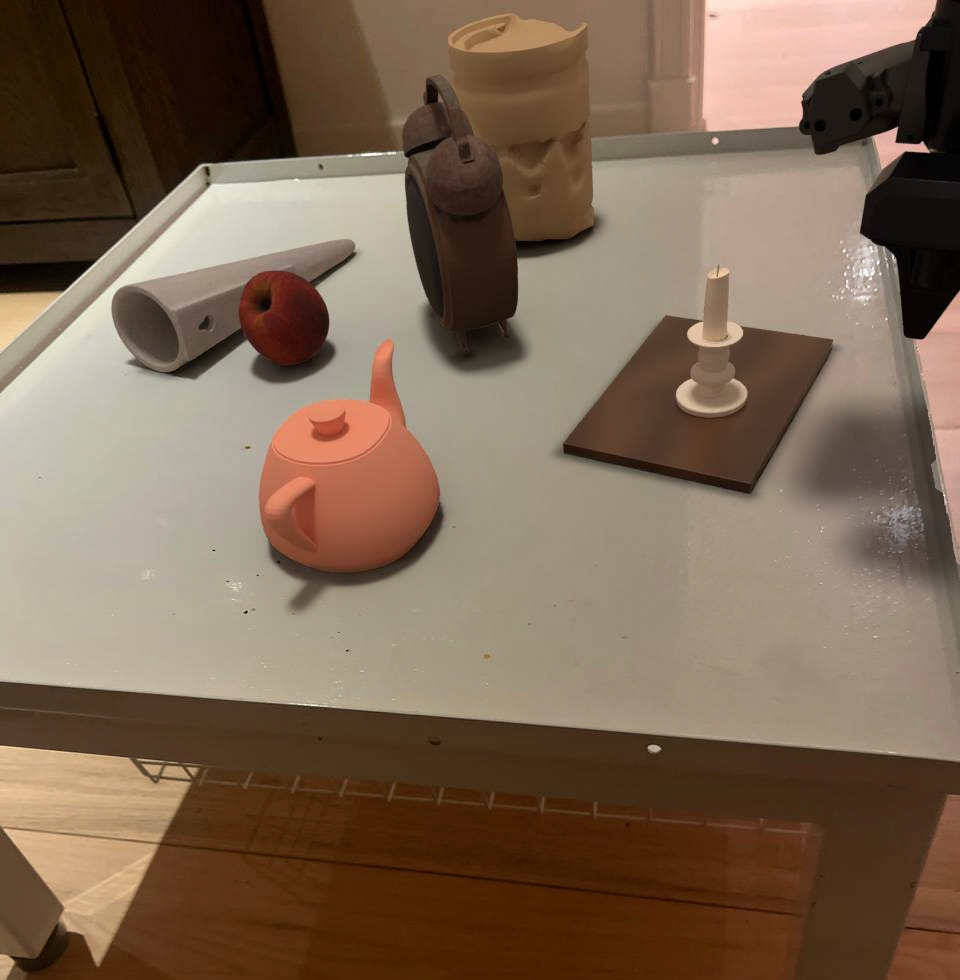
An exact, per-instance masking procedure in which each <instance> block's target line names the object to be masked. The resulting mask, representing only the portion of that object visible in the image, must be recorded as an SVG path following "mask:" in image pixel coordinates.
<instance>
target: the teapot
mask: <svg viewBox="0 0 960 980" xmlns="http://www.w3.org/2000/svg"><path fill="white" fill-rule="evenodd" d="M394 346H395V345H394V342H393V340H392V339H385V340H383V342H381V343H380V344H379V346H378V348H377V349H376V351H375V352H374V353H375V354H374V356H373V361H372V366H371V367H372V368H371V379H370V390H369V399H368V401H366V400H361V399H355V398H354V399H352V398H337V399H336V398H334V399H326V400H321V401H317V402H314V403H310V404H308V405H305V406H304V407H302V408H300V409H298V410H297V411H295V412H294V413H292V414H291V415H290V416H289V417H288V418H286V420H285V421H284V422H283V423H282V424H281V425H280V426H279V427H278V429H277V430H276V431H275V433H274V435H273V437H272V439H271V442H270V445H269V446H268V449H267V452H266V456H265V459H264V464H263V466H262V470H261V475H260V480H259V489H258V504H259V505H258V507H259V515H260V521H261V525H262V528H263V531H264V534H265V537H266V539H267V540H268V541H269V543H270V544H271V545H272V546H273V548H275V549H276V550H277V551H278V552H279V553H281V554H282V555H284V556H286V557H288V558H289V559H291V560H293V561H295V562H297V563H300V564H302V565H304V566H307V567H310V568H312V569H315V570H319V571H323V572H331V573H358V572H365V571H370V570H375V569H378V568H381V567H385V566H386V565H389V564H391V563H393V562H395V561H398V559H400V558H402V557H403V556H404V555H405V554H407V553H409V551H410V550H411V549H412V548H413V547H415V545H416V544H417V543H418V541H419V540H420V539H421V537H423V535H424V533H426V531H427V529H428V528H429V526H430V525H431V523H432V521H433V519H434V517H435V515H436V513H437V511H438V507H439V503H440V499H441V487H440V483H439V479H438V476H437V472H436V470H435V468H434V464H433V463H432V460H431V459H430V457H429V455H428V453H427V452H426V450H425V449H424V447H423V446H422V445H421V443H420V441H419V440H418V439H417V438H416V437H415V435H414V434H413V433H411V431H409V429H408V428H407V423H406V416H405V412H404V408H403V405H402V402H401V399H400V396H399V393H398V391H397V387H396V384H395V380H394V373H393V355H394V348H395V347H394Z"/></svg>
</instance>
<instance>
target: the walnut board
mask: <svg viewBox="0 0 960 980" xmlns="http://www.w3.org/2000/svg"><path fill="white" fill-rule="evenodd" d="M699 322H703V319H694V318H688V317H683V316H682V317H681V316H674V315H668V314H667V315H664V316H663V318H662V319H661V320H660V321H659V323H658V324H657V326H656V327H654V329H653V330H652V332H651V333H650V334H649V336H648V337H647V338H646V339H645V340H644V341H643V343H642V344H641V345H640V347H639V348H638V349H637V350H636V352H635V353H634V354H633V355H632V357H631V358H630V359H629V360H628V362H627V363H626V364H625V365H624V367H623V368H622V369H621V370H620V371H619V373H618V374H617V375H616V376H615V378H614V379H613V380H612V382H611V383H610V384H609V385H608V386H607V388H605V390H604V392H603V393H602V394H601V395H600V397H599V398H598V399H597V401H596V402H595V403H594V404H593V405H592V407H590V409H589V410H588V411H587V413H586V414H584V416H583V418H582V419H581V420H580V421H579V423H578V424H577V425H576V427H575V428H574V429H573V430H572V431H571V433H570V434H569V435H568V436H567V438H566V439H565V440H564V442H562V450H563V453H565V454H570V455H574V456H577V457H578V456H579V457H583V458H587V459H593V460H596V461H602V462H606V463H611V464H615V465H621V466H624V467H630V468H633V469H639V470H644V471H647V472H651V473H652V472H653V473H657V474H662V475H665V476H670V477H675V478H679V479H685V480H689V481H694V482H699V483H702V484H707V485H712V486H716V487H721V488H726V489H731V490H735V491H739V492H744V493H748V494H750V493H751V491H752V490H753V488H754V486H755V484H756V482H757V480H758V478H759V477H760V475H761V474H762V472H763V470H764V468H765V467H766V465H767V464H768V462H769V459H770V458H771V456H772V454H773V453H774V451H775V449H776V447H777V446H778V444H779V442H780V440H781V438H782V437H783V436H784V433H785V431H786V430H787V428H788V426H789V425H790V422H791V421H792V419H793V418H794V416H795V414H796V413H797V410H798V408H799V407H800V405H801V403H802V402H803V400H804V398H805V397H806V395H807V393H808V391H809V390H810V388H811V386H812V384H813V382H814V380H815V379H816V377H817V375H818V373H819V372H820V370H821V368H822V366H823V365H824V363H825V361H826V360H827V358H828V356H829V354H830V352H831V351H832V350H833V349H832V348H833V343H834V339H832V338H826V337H820V336H819V337H818V336H811V335H805V334H798V333H791V332H785V331H778V330H772V329H771V330H770V329H765V328H756V327H750V326H743V325H739V326H740V327H741V328H742V330H743V336H742V338H741V339H740V340H739V341H738V342H737V343H735V344H733V345H730V346H729V351H730V356H729V360H728V362H730V363H731V364H732V365H733V366H734V367H735V376H734V379H736V380H737V381H739V382H741V383H742V384H743V385H744V386H745V387H746V389H747V401H746V403H745V405H744V406H743V407H742V408H741V409H740V410H739V411H737V412H735V413H733V414H731V415H727V416H724V417H717V418H703V417H697V416H694V415H691V414H688V413H686V412H685V411H683V410H682V409H681V408H680V407H679V406H678V405H677V402H676V391H677V389H678V388H679V386H680V385H682V384H683V383H684V382H685V381H687V380H689V379H691V376H690V373H691V368H692V366H693V365H694V364H696V363H697V362H699V361H698V352H699V349H700V348H699V346H698V345H695V344H693V343H692V342H691V341H690V340H689V339H688V337H687V332H688V330H689V329H690V328H691V327H692V326H693V325H695V324H697V323H699Z"/></svg>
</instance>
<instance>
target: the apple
mask: <svg viewBox="0 0 960 980" xmlns="http://www.w3.org/2000/svg"><path fill="white" fill-rule="evenodd" d="M238 311H239V320H240V325H241V328H240V329H241V331H242V333H243V335H244V336H245V338H246V340H247V342H248V343H249V344H250V345H251V347H252V348H253V349H254V350H255V351H256V352H257V353H258V354H259V355H261V357H263V358H264V359H266V360H268V361H270V362H272V363H274V364H278V365H282V366H295V365H299V364H302V363H304V362H306V361H308V360H309V359H311V358H312V357H314V356H315V355H316V354H317V353H318V352H319V351H320V349H321V348H322V346H323V345H324V343H325V342H326V340H327V338H328V335H329V330H330V314H329V310H328V307H327V304H326V302H325V300H324V299H323V296H322V295H321V293H320V292H319V290H317V289H316V287H315V286H314V285H313V284H312V283H311V282H308V281H307V280H305V279H304V278H302V277H300V276H298V275H296V274H294V273H291V272H288V271H281V270H272V271H264V272H261V273H258V274H257V275H255V276H253V277H252V278H251V279H250V280H249V281H248V282H247V284H246V285H245V287H244V289H243V292H242V295H241V299H240V303H239V310H238Z"/></svg>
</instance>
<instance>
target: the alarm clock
mask: <svg viewBox="0 0 960 980" xmlns="http://www.w3.org/2000/svg"><path fill="white" fill-rule="evenodd" d="M439 95H440V97H441V99H442V101H439ZM422 99H423V104H424V105H422V106H420V107H418V108H416V109H415V110H414V111H412V112H410V114H409V115H408V117H407V118H406V121H405V122H404V124H403V127H402V134H401V141H402V150H403V156H404V158H406V159H408V160H407V166H406V168H405V171H404V192H405V193H404V194H405V202H406V217H407V225H408V231H409V236H410V242H411V247H412V251H413V257H414V262H415V264H416V268H417V272H418V276H419V279H420V283H421V286H422V287H423V291H424V294H425V297H426V299H427V301H428V303H429V305H430V307H431V309H432V311H433V314H434V316H435V318H436V320H437V322H438V323H439V324H440V325H442V327H443V328H444V329H445V331H446V332H448V333H452V332H453V333H455V336H456V338H457V341H458V343H459V346H460V349H461V355H462V356H463V357H468V355H469V353H470V351H469V349H468V348H467V347H468V346H467V336H466V331H467V330H476V329H477V330H478V329H481V328H485V327H489V326H491V325H494V324H497V323H498V325H499V327H500V329H501V331H502V332H503V338H504V339H505V340H509V339H510V338H511V332H509V329H508V325H507V320H508V319H510V318H511V319H512V318H513V317H514V316H515V315H516V312H517V308H518V302H519V267H518V264H519V262H518V251H517V244H516V241H515V236H514V230H513V224H512V220H511V215H510V211H509V207H508V203H507V200H506V196H505V193H504V190H503V187H502V186H503V175H502V170H501V166H500V162H499V159H498V156H497V154H496V153H495V151H494V150H493V149H492V147H491V146H490V145H489V144H488V143H486V142H485V141H483V140H482V139H480V138H478V137H475V136H474V133H473V130H472V127H471V124H470V122H469V119H468V118H467V116H466V114H465V112H464V111H463V110H462V109H461V107H460V104H459V101H458V98H457V96H456V94H455V92H454V90H453V85H451V83H449V81H448V80H447V79H446V78H445V76H443V75H441V74H437V75H432V76H428V77H426V79H425V91H424V92H423V96H422Z"/></svg>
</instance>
